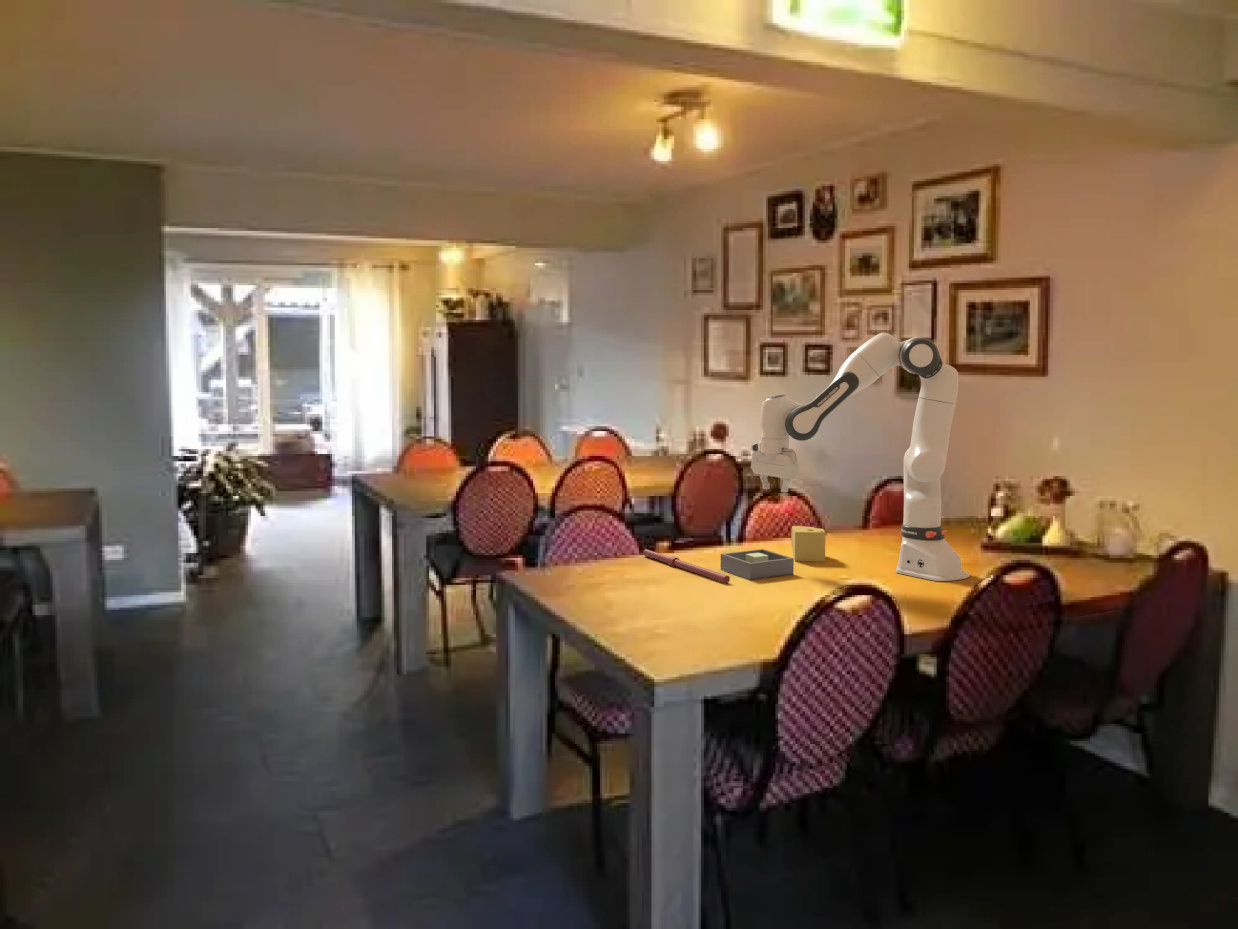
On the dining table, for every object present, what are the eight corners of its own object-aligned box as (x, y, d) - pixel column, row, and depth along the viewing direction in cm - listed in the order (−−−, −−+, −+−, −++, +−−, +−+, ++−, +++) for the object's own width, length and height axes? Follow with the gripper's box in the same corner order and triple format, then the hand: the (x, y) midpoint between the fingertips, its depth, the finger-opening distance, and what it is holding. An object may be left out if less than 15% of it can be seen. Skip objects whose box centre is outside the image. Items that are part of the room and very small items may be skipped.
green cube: (768, 571, 308) (768, 555, 308) (754, 573, 306) (754, 557, 306) (758, 568, 313) (758, 552, 312) (745, 570, 311) (745, 554, 310)
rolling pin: (641, 557, 332) (641, 548, 332) (649, 556, 334) (649, 547, 334) (722, 585, 294) (722, 575, 293) (731, 584, 295) (731, 573, 295)
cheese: (822, 555, 333) (823, 526, 332) (826, 562, 323) (826, 532, 321) (790, 555, 334) (791, 525, 333) (793, 562, 324) (793, 531, 322)
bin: (793, 574, 306) (793, 558, 306) (749, 580, 299) (750, 563, 298) (762, 564, 320) (763, 548, 320) (720, 569, 313) (720, 553, 312)
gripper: (803, 448, 308) (804, 493, 309) (763, 443, 326) (764, 486, 327) (787, 450, 305) (787, 495, 306) (747, 445, 323) (748, 487, 324)
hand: (775, 490), depth 317 cm, fingers open, 8 cm apart
